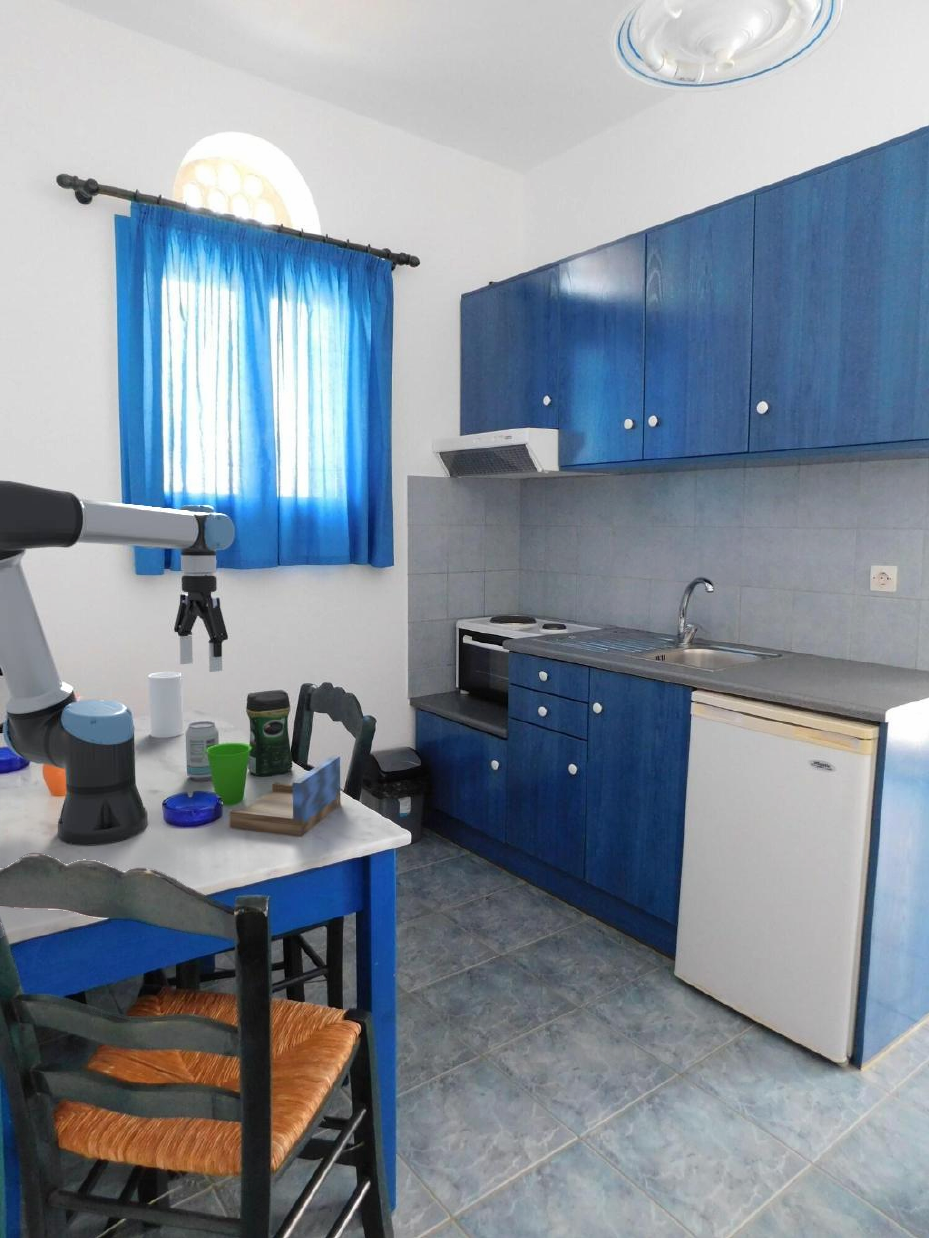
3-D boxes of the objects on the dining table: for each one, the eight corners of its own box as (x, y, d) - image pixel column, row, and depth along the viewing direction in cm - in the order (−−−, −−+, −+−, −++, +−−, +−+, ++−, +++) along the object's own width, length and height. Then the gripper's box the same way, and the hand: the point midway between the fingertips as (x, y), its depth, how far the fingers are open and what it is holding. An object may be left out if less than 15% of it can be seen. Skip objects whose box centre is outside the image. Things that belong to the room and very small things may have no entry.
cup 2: (245, 809, 160) (244, 755, 158) (200, 808, 160) (198, 754, 158) (258, 794, 168) (257, 742, 167) (215, 793, 169) (213, 742, 167)
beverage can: (218, 770, 184) (217, 719, 182) (220, 780, 177) (218, 726, 176) (186, 773, 181) (184, 721, 180) (187, 783, 175) (185, 729, 173)
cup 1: (178, 728, 221) (176, 670, 219) (187, 734, 214) (185, 675, 212) (147, 732, 216) (144, 673, 214) (154, 739, 209) (152, 678, 207)
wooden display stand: (301, 836, 146) (300, 783, 145) (230, 827, 150) (228, 775, 149) (340, 804, 163) (339, 756, 162) (275, 797, 167) (274, 750, 165)
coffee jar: (285, 763, 190) (283, 685, 187) (296, 772, 183) (294, 692, 180) (244, 769, 185) (241, 690, 182) (253, 779, 178) (251, 696, 176)
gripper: (243, 576, 176) (244, 672, 178) (188, 571, 193) (189, 659, 195) (211, 577, 171) (213, 676, 173) (157, 572, 188) (159, 662, 190)
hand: (200, 667), depth 184 cm, fingers open, 13 cm apart
